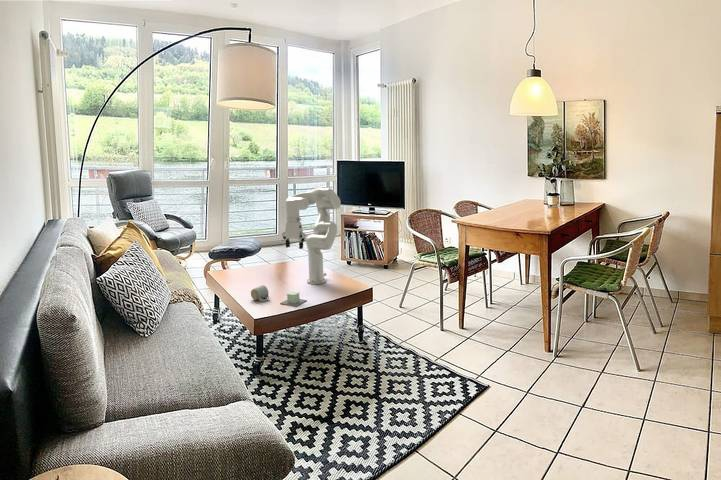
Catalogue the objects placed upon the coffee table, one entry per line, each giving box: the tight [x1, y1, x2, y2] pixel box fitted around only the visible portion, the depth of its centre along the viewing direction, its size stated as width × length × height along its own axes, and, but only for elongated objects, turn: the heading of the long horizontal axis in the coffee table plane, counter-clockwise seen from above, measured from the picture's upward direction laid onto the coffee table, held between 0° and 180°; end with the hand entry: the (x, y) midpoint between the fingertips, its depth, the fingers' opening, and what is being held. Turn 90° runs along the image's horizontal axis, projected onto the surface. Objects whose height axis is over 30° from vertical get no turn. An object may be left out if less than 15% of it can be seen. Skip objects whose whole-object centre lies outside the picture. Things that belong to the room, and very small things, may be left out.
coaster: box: [279, 298, 308, 307], centre depth 272 cm, size 11×11×1 cm
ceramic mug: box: [250, 284, 270, 303], centre depth 278 cm, size 11×8×8 cm
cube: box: [286, 291, 301, 303], centre depth 272 cm, size 5×5×5 cm
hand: (294, 247), depth 285 cm, fingers open, 9 cm apart
